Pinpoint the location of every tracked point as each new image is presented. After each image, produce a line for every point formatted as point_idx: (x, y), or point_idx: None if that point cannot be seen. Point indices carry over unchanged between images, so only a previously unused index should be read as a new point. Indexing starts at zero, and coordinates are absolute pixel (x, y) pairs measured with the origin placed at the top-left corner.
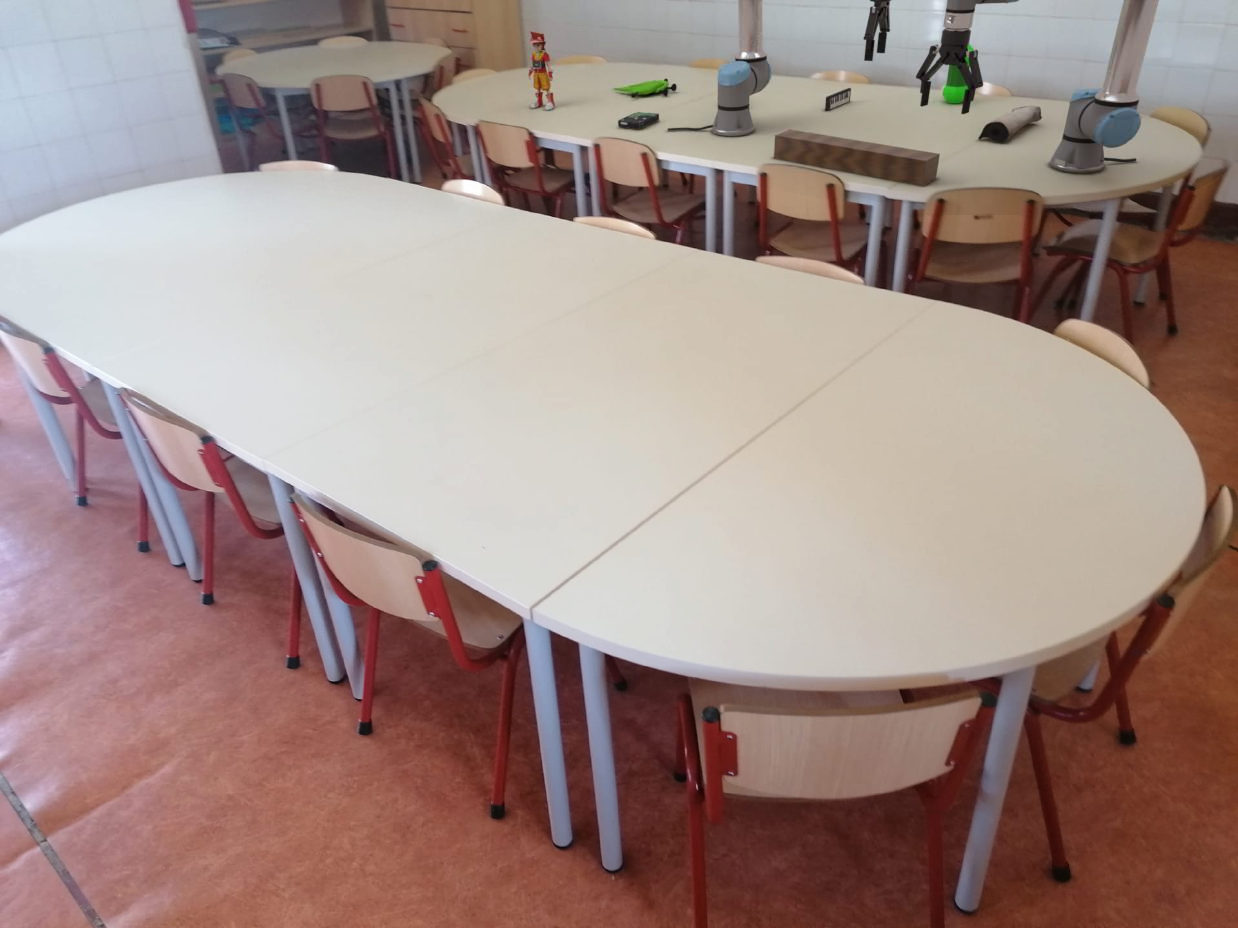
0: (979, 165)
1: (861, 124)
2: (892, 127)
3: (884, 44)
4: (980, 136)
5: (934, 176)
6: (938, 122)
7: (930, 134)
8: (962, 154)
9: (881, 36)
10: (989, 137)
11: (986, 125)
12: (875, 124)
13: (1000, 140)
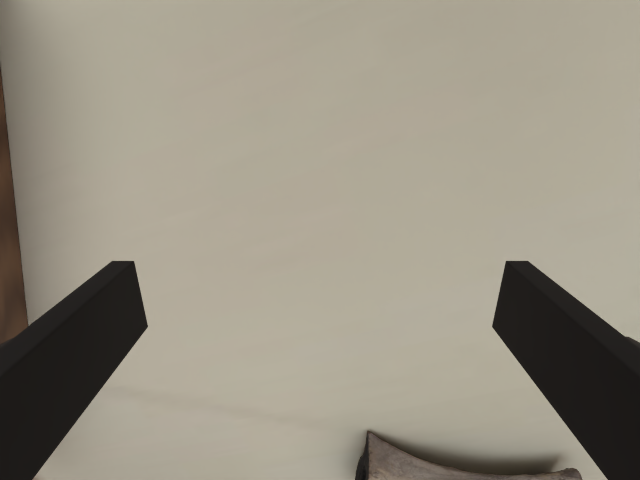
0: (178, 462)
1: (466, 99)
2: (446, 214)
3: (537, 377)
4: (368, 441)
5: None
6: None
7: (393, 329)
8: (241, 423)
9: (618, 412)
10: (364, 457)
11: (368, 475)
12: (475, 149)
13: (357, 472)
